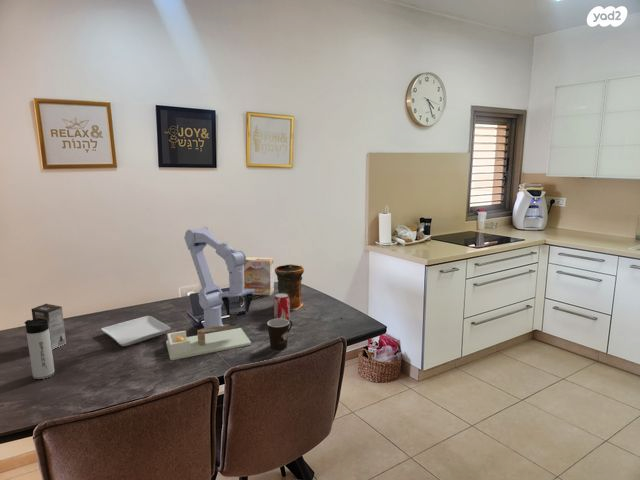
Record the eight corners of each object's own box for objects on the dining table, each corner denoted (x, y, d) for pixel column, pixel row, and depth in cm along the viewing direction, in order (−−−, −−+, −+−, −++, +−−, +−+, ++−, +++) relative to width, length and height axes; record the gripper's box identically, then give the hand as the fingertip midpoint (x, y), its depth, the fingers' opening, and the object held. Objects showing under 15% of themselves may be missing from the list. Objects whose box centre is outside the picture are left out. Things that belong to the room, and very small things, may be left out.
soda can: (287, 323, 187) (286, 298, 184) (272, 322, 188) (271, 297, 186) (291, 317, 193) (291, 293, 191) (277, 316, 195) (276, 292, 193)
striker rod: (198, 340, 167) (196, 317, 165) (236, 333, 173) (235, 311, 171) (200, 345, 162) (198, 321, 160) (239, 337, 169) (238, 315, 167)
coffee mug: (272, 353, 158) (271, 328, 156) (264, 344, 166) (264, 320, 164) (300, 346, 164) (299, 323, 162) (291, 338, 171) (291, 315, 169)
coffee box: (35, 347, 163) (29, 308, 160) (50, 340, 169) (45, 303, 166) (52, 350, 160) (47, 311, 157) (67, 343, 166) (62, 305, 163)
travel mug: (38, 371, 145) (31, 317, 141) (58, 370, 146) (51, 316, 142) (28, 380, 139) (19, 324, 135) (48, 380, 139) (40, 324, 136)
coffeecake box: (244, 294, 227) (242, 259, 223) (248, 290, 234) (247, 256, 230) (270, 295, 224) (269, 260, 220) (274, 291, 231) (273, 257, 227)
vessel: (304, 310, 202) (302, 271, 198) (275, 311, 202) (273, 271, 198) (305, 300, 216) (304, 263, 212) (278, 301, 216) (276, 264, 212)
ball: (174, 345, 163) (173, 336, 162) (185, 343, 164) (183, 333, 163) (176, 350, 159) (174, 340, 158) (186, 347, 161) (185, 337, 160)
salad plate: (172, 334, 176) (172, 327, 175) (121, 351, 161) (120, 343, 160) (149, 321, 190) (149, 314, 189) (100, 336, 175) (99, 328, 174)
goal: (168, 343, 165) (167, 333, 164) (186, 339, 168) (185, 330, 167) (171, 354, 155) (170, 344, 154) (190, 351, 158) (189, 341, 157)
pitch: (166, 343, 167) (166, 340, 167) (240, 329, 180) (240, 327, 180) (170, 360, 153) (170, 357, 153) (251, 344, 166) (251, 342, 165)
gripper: (220, 286, 162) (221, 318, 165) (256, 281, 168) (257, 313, 171) (216, 281, 168) (218, 312, 171) (251, 277, 174) (252, 307, 177)
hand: (237, 312), depth 171 cm, fingers open, 7 cm apart
